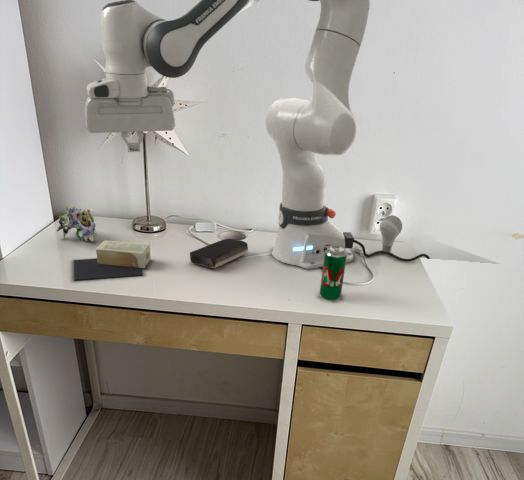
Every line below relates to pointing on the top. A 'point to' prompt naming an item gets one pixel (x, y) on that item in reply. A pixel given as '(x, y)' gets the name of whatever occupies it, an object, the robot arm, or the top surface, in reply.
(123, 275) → the mat
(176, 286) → the top surface
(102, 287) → the top surface
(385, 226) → the lightbulb
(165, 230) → the top surface
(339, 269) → the soda can
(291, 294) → the top surface
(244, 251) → the black sponge
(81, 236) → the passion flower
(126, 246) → the cosmetic box
